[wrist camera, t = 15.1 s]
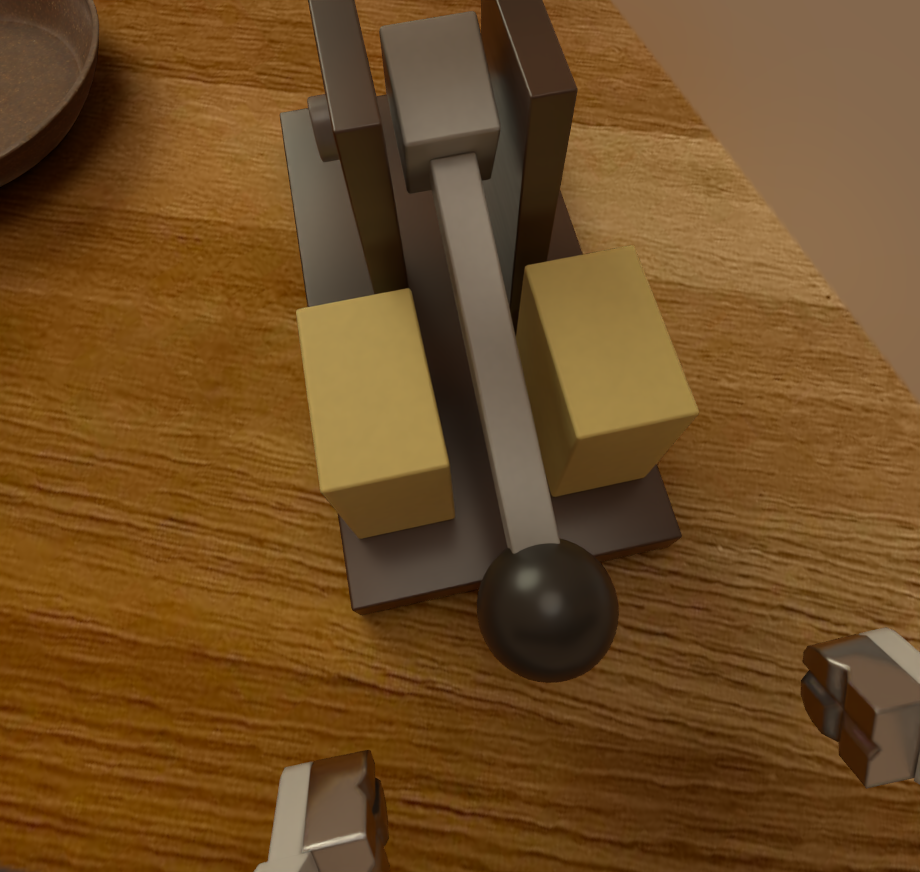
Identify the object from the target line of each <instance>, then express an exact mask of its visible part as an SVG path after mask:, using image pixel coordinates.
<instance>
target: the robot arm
mask: <svg viewBox="0 0 920 872" xmlns="http://www.w3.org/2000/svg"><path fill="white" fill-rule="evenodd" d="M803 663H804V665H805V666H806V667H807V668H808V669H809V671H808V672H807V673H806V675H805V676H804V677H803V679H802V680H801V697H802V700H803V704H804V707H805V710H806V712H807V713H808V715H809V717H810V719H811V720H812V722H813V723H814V725H815V726H816V727H817V728H818V730H819V731H820V732H821V733H822V734H824V735H825V736H827V737H829V738H831V739H833V740H835V741H837V742H838V744H839V756H840V757H841V758H842V759H843V761H844V762H845V763H846V764H847V765H848V767H849V768H850V769H851V770H852V772H853V773H854V774H855V775H856V776H857V778H858V779H859V780H860V781H861V782H862V784H863V785H864V786H865V787H866V788H870V787H875V786H879V785H884V784H888V783H893V782H898V781H902V780H907V779H912V778H914V781H915V782H917V783H918V784H920V652H919V651H918V650H916V649H915V648H914V647H913V646H912V645H911V644H909V643H908V642H907V641H906V640H905V639H904V638H902V637H901V636H900V635H899V634H898V633H897V632H895V631H894V630H892V629H889V628H887V627H885V628H881V629H877V630H872V631H868V632H864V633H860V634H854V635H850V636H846V637H842V638H838V639H834V640H830V641H826V642H822V643H818V644H814V645H810V646H807V648H806V649H805V650H804V652H803ZM388 839H389V830H388V816H387V807H386V801H385V796H384V791H383V788H382V784H381V781H380V780H379V779H377V778H376V777H375V762H374V759H373V756H372V754H371V751H370V750H365V751H360V752H355V753H350V754H346V755H341V756H336V757H331V758H326V759H321V760H316V761H313V762H308V763H304V764H299V765H294V766H290V767H285V768H284V771H283V773H282V775H281V778H280V784H279V791H278V797H277V804H276V811H275V817H274V824H273V830H272V837H271V843H270V850H269V857H268V862H265V863H261V864H259V865H258V866H257V868H256V869H255V871H254V872H390V865H389V862H388V859H387V856H386V853H385V849H384V846H385V845H386V843H387V841H388Z"/></svg>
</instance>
